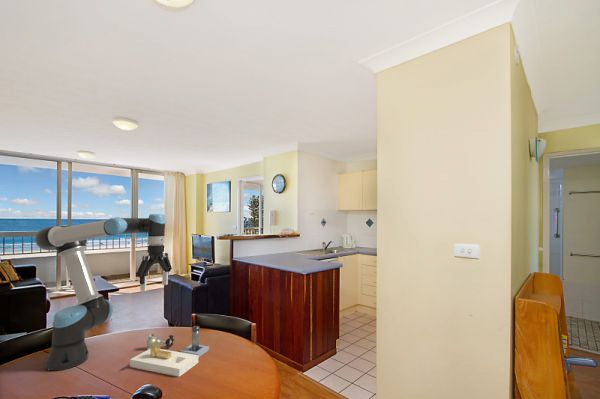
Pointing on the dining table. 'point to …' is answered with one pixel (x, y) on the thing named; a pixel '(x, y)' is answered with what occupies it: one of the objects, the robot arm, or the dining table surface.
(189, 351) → the gray square-hole plate
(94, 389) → the dining table surface
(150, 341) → the valve
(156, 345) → the yellow l-shaped bracket
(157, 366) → the socket board
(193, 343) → the drill peg
